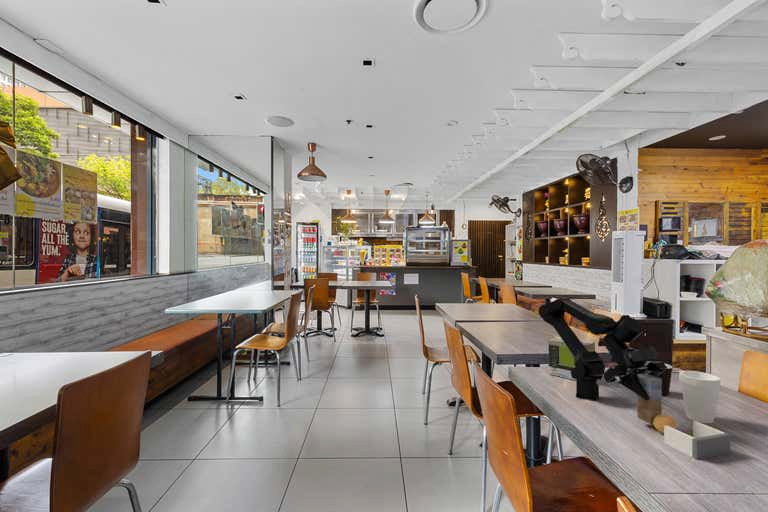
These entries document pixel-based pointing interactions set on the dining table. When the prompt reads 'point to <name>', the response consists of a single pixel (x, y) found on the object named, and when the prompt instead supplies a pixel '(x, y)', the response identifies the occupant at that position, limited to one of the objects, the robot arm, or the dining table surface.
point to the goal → (698, 441)
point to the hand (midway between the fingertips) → (654, 399)
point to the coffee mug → (665, 379)
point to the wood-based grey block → (654, 404)
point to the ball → (663, 422)
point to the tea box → (563, 357)
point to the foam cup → (700, 395)
